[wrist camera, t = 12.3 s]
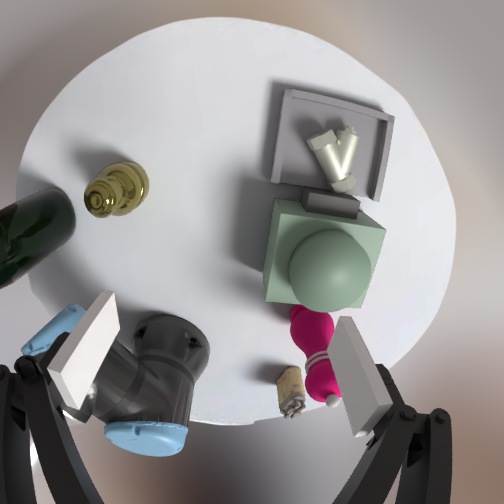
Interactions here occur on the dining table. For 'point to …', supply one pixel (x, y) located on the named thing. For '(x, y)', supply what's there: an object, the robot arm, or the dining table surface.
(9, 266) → the dark green wine bottle
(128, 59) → the dining table surface
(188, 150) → the dining table surface
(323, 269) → the mower housing
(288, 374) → the tan cylindrical piece
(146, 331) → the robot arm
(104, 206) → the brass rounded piece
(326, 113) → the tray
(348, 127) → the pipe fitting
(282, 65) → the dining table surface
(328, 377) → the pepper mill
